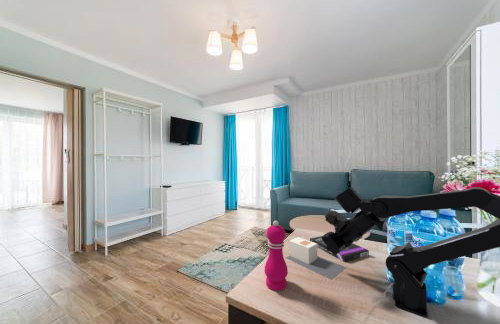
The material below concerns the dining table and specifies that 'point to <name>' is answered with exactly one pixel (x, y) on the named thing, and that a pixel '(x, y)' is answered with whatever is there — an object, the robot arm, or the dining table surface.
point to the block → (303, 250)
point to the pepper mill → (276, 258)
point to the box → (347, 253)
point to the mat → (321, 266)
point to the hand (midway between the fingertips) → (327, 249)
